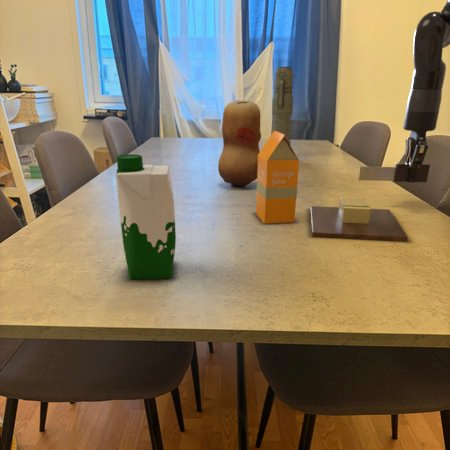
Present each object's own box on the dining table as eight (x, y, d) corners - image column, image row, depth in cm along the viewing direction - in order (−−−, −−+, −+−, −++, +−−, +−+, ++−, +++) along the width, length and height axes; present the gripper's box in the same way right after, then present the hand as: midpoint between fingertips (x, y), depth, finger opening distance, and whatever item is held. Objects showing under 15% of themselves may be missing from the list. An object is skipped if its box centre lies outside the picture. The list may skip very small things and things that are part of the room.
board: (388, 213, 112) (389, 209, 111) (406, 241, 92) (407, 237, 92) (310, 209, 114) (310, 206, 114) (312, 236, 95) (312, 232, 95)
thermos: (268, 157, 188) (272, 66, 172) (270, 153, 198) (274, 67, 182) (289, 158, 186) (295, 66, 170) (290, 154, 197) (295, 67, 181)
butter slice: (367, 222, 101) (370, 207, 100) (368, 223, 100) (371, 209, 98) (341, 220, 102) (343, 206, 101) (342, 222, 101) (344, 207, 99)
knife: (424, 180, 114) (427, 163, 112) (426, 182, 112) (430, 164, 110) (358, 179, 117) (360, 162, 115) (359, 180, 115) (361, 163, 113)
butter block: (362, 211, 109) (364, 197, 108) (367, 220, 102) (369, 206, 101) (338, 210, 110) (340, 196, 109) (341, 219, 103) (343, 204, 102)
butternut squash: (223, 191, 132) (223, 102, 121) (215, 182, 144) (214, 99, 132) (266, 189, 135) (270, 101, 123) (255, 180, 146) (257, 99, 135)
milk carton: (129, 262, 82) (118, 152, 72) (177, 261, 82) (172, 151, 73) (124, 282, 74) (109, 161, 65) (177, 280, 74) (170, 160, 65)
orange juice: (284, 212, 112) (289, 130, 103) (295, 222, 104) (301, 134, 95) (255, 213, 111) (258, 130, 102) (263, 223, 103) (267, 135, 94)
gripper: (447, 111, 99) (431, 187, 107) (431, 107, 111) (418, 176, 119) (412, 111, 100) (399, 186, 108) (400, 107, 113) (390, 175, 120)
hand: (409, 180), depth 114 cm, fingers closed on knife, 2 cm apart
